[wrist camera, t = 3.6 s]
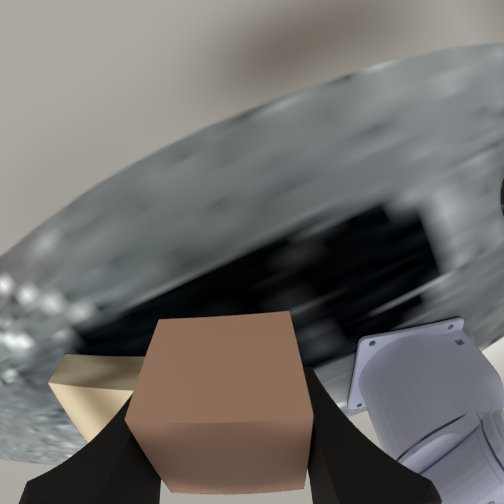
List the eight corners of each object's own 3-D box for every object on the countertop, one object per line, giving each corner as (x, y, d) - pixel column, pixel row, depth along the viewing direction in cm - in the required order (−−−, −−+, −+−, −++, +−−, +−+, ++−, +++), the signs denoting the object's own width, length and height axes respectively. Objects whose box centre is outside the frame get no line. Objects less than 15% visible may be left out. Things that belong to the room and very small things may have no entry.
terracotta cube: (289, 310, 12) (313, 415, 7) (289, 397, 14) (304, 488, 9) (158, 319, 12) (124, 419, 7) (184, 403, 14) (171, 492, 9)
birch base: (167, 356, 21) (158, 391, 18) (192, 428, 25) (188, 460, 21) (65, 353, 21) (47, 382, 18) (103, 423, 25) (94, 450, 21)
